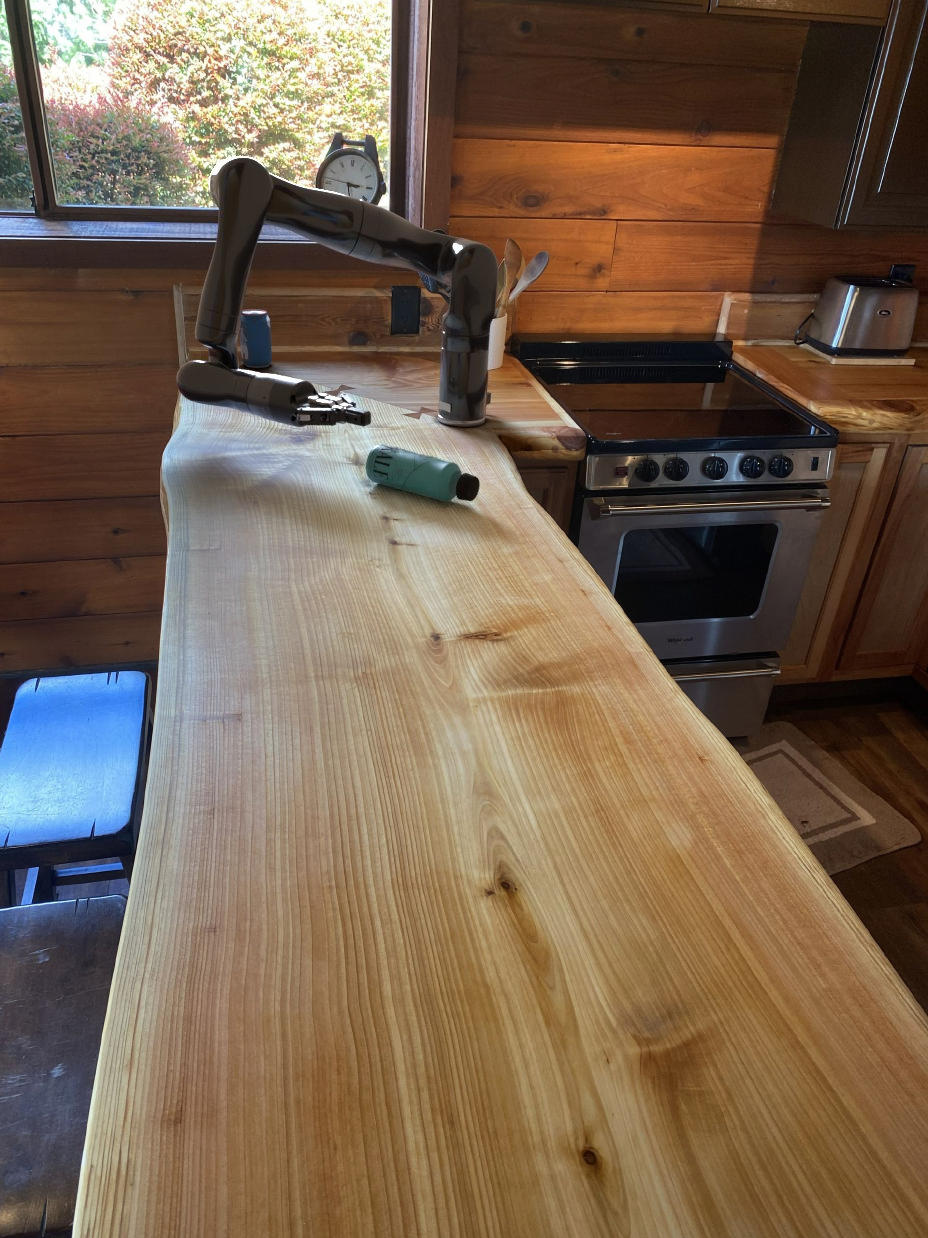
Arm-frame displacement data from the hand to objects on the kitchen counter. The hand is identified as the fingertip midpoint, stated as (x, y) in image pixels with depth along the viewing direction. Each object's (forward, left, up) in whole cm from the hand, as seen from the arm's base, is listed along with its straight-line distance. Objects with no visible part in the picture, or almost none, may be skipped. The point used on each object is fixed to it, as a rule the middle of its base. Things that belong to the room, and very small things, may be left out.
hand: (368, 419), depth 141 cm
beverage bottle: (-1, -1, -7) cm, 7 cm away
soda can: (-48, -66, -11) cm, 82 cm away
